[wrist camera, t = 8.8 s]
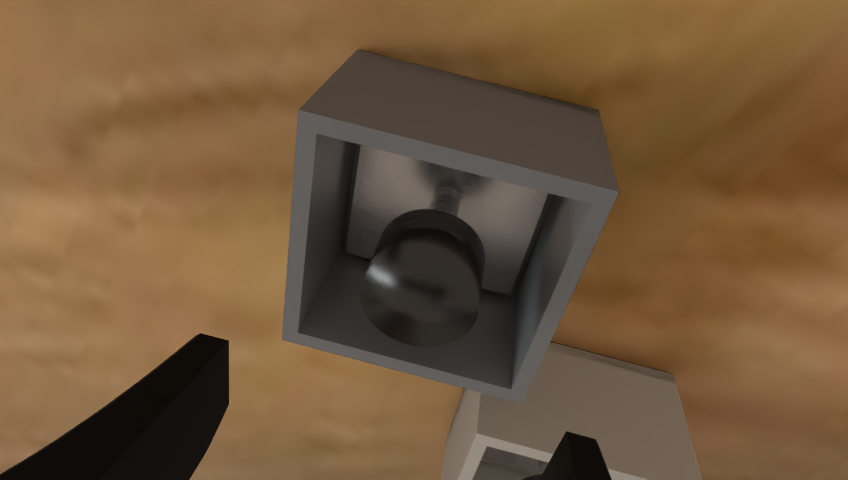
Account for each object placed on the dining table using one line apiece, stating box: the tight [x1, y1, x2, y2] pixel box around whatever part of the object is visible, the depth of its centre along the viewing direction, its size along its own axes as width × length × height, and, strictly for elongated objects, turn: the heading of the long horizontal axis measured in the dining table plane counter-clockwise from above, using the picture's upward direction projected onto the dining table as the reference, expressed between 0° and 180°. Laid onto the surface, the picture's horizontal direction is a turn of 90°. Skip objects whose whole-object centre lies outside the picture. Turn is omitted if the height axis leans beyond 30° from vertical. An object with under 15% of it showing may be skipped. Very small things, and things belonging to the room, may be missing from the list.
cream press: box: [440, 342, 702, 480], centre depth 24 cm, size 8×8×6 cm
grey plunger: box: [345, 145, 548, 347], centre depth 17 cm, size 6×6×6 cm
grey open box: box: [282, 50, 619, 404], centre depth 18 cm, size 8×8×6 cm
